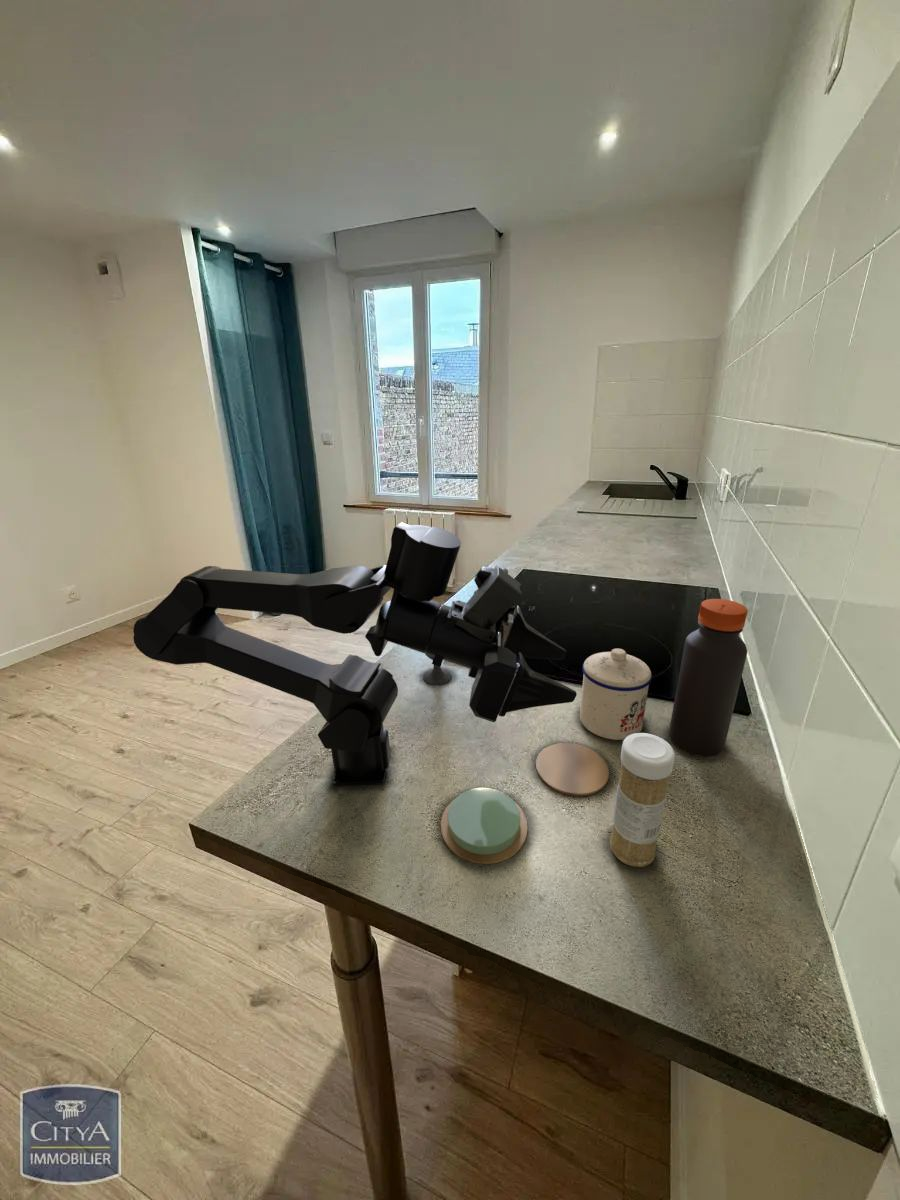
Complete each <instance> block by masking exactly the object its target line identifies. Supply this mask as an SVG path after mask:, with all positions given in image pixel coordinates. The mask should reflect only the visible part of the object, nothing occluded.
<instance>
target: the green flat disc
mask: <svg viewBox="0 0 900 1200" xmlns="http://www.w3.org/2000/svg"><path fill="white" fill-rule="evenodd" d="M452 801H453V802H452ZM452 801H451V802H452V803H451V802H450V803H451V805H450V807H449V810H448V829H449V833H450V835H451V837H452V838H453V840H454V841H455V842H456V843H457V844H458V845H459V846H460V847H462V848H463V849H465V850H467V851H469V852H472V853H475V854H481V855H490V854H496V853H499V852H502V851H504V850H506V849H507V848H509V847H510V846H511V845H512V844H513V843H514V842H515V840H516V839H517V837H518V835H519V831H520V812H519V809H518V807H517V805H516V804H515V803H516V801H515V800H514V799H513V798H512V797H510V796H509V795H508V794H506V793H504V792H503V791H500V790H497V789H495V788H490V787H476V788H475V787H474V788H471V789H467V790H466V791H464V792H461V793H459V794H458V795H457V796H456V797H455V798H454V799H453V800H452Z"/></svg>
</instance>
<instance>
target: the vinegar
mask: <svg viewBox="0 0 900 1200" xmlns="http://www.w3.org/2000/svg"><path fill="white" fill-rule="evenodd" d="M748 610H749V609H748V608H747V607H746V606H745V605H744V604H741V603H739V602H737V601H734V600H730V599H724V598H707V599H705V600H702V601H701V603H700V607H699V613H698V618H697V625H698V626H699V627H698V628H697V629H695V630H694V631H692V632H690V633H689V634H688V635H687V636H686V637H685V640H684V646H683V653H682V658H681V664H680V668H679V674H678V680H677V684H676V691H675V696H674V701H673V706H672V710H671V717H670V722H669V727H668V737H669V739H670V740H671V742H672V743H673V744H674V745H675V747H677V748H679V749H680V750H682V751H683V752H686V753H688V754H690V755H692V756H693V755H694V756H696V757H697V756H698V757H714V756H715V757H716V756H718V755H719V754H721V753H723V751H724V749H725V746H726V742H727V738H728V734H729V731H730V726H731V722H732V717H733V714H734V709H735V705H736V701H737V697H738V693H739V689H740V685H741V681H742V676H743V672H744V669H745V664H746V660H747V656H748V647H747V644H746V643H745V642H744V640H743V639H742V638H741V637H740V634H741V633H742V632H743V630H744V628H745V624H746V620H747V615H748Z"/></svg>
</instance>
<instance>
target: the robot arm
mask: <svg viewBox="0 0 900 1200" xmlns="http://www.w3.org/2000/svg"><path fill="white" fill-rule="evenodd" d="M390 538H391V539H390V549H389V553H388V558H387V561H386V563H385V564H383V565H379V566H377V567H373V568H369V567H366V566H362V565H351V566H342V567H333V568H329V569H325V570H321V571H317V572H313V573H304V574H300V573H286V572H272V571H260V570H245V569H234V568H233V569H231V568H221V567H220V566H216V565H213V566H212V565H206V566H204V567H202V568H199V569H198V570H195V571H193V572H190V573H189V574H187V575H185V576H184V577H182V578H180V580H179V582H178V583H177V584H176V585H175V586H174V588H173V589H172V591H170V593H168V594H167V596H165V598H164V599H162V601H160V602H159V603H158V604H157V605H156V606H155V607H154V608H153V609H152V610H151V611H149V613H148V614H146V615H144V616H142V617H140V618H139V619H137V620H136V621H135V623H134V625H133V630H132V631H133V636H132V639H133V643H134V645H135V647H136V649H137V650H138V651H139V652H140V653H141V654H143V655H144V656H145V657H147V658H149V659H151V660H154V661H157V662H162V663H167V664H172V665H175V666H181V665H195V664H208V665H211V666H214V667H216V668H219V669H221V670H225V671H228V672H229V673H231V674H232V673H233V674H235V675H238V676H240V677H243V678H246V679H249V680H251V681H254V682H256V683H259V684H262V685H264V686H267V687H269V688H272V689H275V690H277V691H279V692H283V693H284V694H288V695H291V696H294V697H296V698H299V699H301V700H304V701H307V702H309V703H311V704H313V705H314V706H315V708H316V709H317V710H318V712H319V713H320V714H321V716H322V717H323V719H325V723H324V725H323V726H322V728H321V729H320V730H319V731H318V733H317V737H318V739H319V740H320V742H321V745H322V746H323V748H324V749H328V750H330V752H331V758H332V764H333V770H334V771H333V774H332V778H331V785H332V786H334V787H336V786H337V787H338V786H340V787H341V786H357V785H360V786H361V785H376V784H377V785H379V784H383V783H384V782H385V778H386V771H387V770H388V769H389V768H390V761H391V747H390V736H389V731H388V730H387V729H384V721H385V719H386V718H387V716H388V714H389V712H390V710H391V708H392V706H393V705H394V703H395V701H396V700H397V698H398V694H399V687H398V684H397V682H396V680H395V679H394V678H393V677H394V675H393V674H392V673H390V671H388V670H386V669H384V668H382V667H381V666H382V664H381V662H374V661H373V662H372V661H369V660H366V659H364V658H362V657H360V656H359V655H355V654H348V655H347V657H346V658H345V659H344V660H343V662H342V663H336V664H335V663H334V664H330V663H326V662H323V661H321V660H319V659H316V658H313V657H311V656H307V655H305V654H302V653H300V652H296V651H293V650H291V649H288V648H286V647H283V646H280V645H278V644H274V643H273V642H270V641H266V640H265V639H261V638H259V637H256V636H253V635H251V634H248V633H246V632H243V631H239V630H237V629H235V628H231V627H229V626H227V625H226V624H225V623H224V621H223V620H222V618H221V617H220V616H219V615H218V613H217V610H218V609H223V610H224V609H225V610H234V611H246V612H256V613H267V614H277V615H289V616H295V617H299V618H301V619H304V620H305V621H306V622H307V623H308V624H310V625H311V626H313V627H314V628H318V629H323V630H327V631H330V632H334V633H338V634H343V635H345V634H352V633H355V632H357V631H358V630H359V629H361V628H362V627H363V626H364V625H365V623H367V622H368V620H369V619H370V618H371V617H372V615H373V614H374V613H375V612H376V611H377V610H378V608H379V607H380V608H379V611H378V615H377V619H376V622H375V624H374V625H371V626H370V627H369V629H368V630H367V631H366V634H365V635H364V638H365V639H366V640H367V641H368V642H369V644H370V648H371V650H372V652H373V655H374V656H376V657H380V656H381V655H382V654H383V651H384V650H385V648H386V646H387V645H388V642H389V643H392V644H395V645H398V646H401V647H404V648H407V649H410V650H413V651H416V652H419V653H422V654H424V655H425V654H428V655H431V656H434V659H433V660H432V662H431V665H433V666H434V665H437V666H440V667H441V668H442V664H443V662H444V661H446V662H449V663H452V664H455V665H457V666H461V667H463V668H467V669H468V677H470V678H473V679H474V681H473V683H472V686H471V691H470V695H469V698H470V699H469V705H468V706H469V708H470V709H471V712H472V713H473V715H474V716H475V717H476V718H479V719H482V720H485V721H488V722H491V723H495V722H496V721H497V720H498V717H503V718H504V717H505V716H506V714H507V713H511V712H516V711H521V710H525V709H531V708H537V707H545V706H552V705H553V706H554V705H559V704H560V705H561V704H569V703H573V702H575V700H576V697H577V694H578V693H577V691H576V690H574V689H573V688H570V687H569V686H567V685H565V684H562V683H561V682H559V681H557V680H554V679H552V678H550V677H548V676H545V675H543V674H541V673H539V672H537V671H534V670H533V669H531V668H530V666H529V664H528V663H527V661H526V659H525V658H529V659H541V660H542V659H543V660H564V659H565V657H566V655H567V650H566V649H565V648H563V647H562V646H560V645H559V644H557V643H556V642H555V641H553V640H551V639H550V638H548V637H547V636H545V635H544V634H542V633H541V632H540V631H538V630H536V629H535V628H533V627H532V626H531V625H529V624H528V623H527V621H526V620H525V617H524V615H523V612H522V610H521V609H522V608H521V607H520V606H519V605H517V603H518V602H519V600H520V599H521V597H522V593H523V592H522V591H521V587H522V583H521V582H519V581H518V580H517V579H515V578H514V577H513V576H511V574H509V570H508V569H507V568H501V567H500V566H498V565H496V566H495V567H489V566H481V568H480V569H479V570H478V571H477V572H476V573H475V575H474V583H475V585H476V587H477V589H475V590H474V591H473V594H472V596H471V597H470V598H469V599H468V601H467V602H465V601H462V600H460V599H456V600H452V602H451V605H446V604H443V603H440V602H437V601H435V600H433V599H434V598H438V597H441V596H443V595H445V594H446V592H447V588H448V585H449V582H450V579H451V576H452V573H453V569H454V567H455V564H456V561H457V558H458V555H459V551H460V548H461V545H462V541H461V539H460V538H459V537H458V536H456V534H454V533H452V532H450V531H448V530H446V529H444V528H441V527H438V526H435V525H434V526H428V525H421V524H420V525H419V524H412V525H410V524H407V523H404V522H399V523H398V524H396V526H395V527H393V529H392V533H391V537H390ZM391 589H393V593H392V595H391V599H390V600H389V601H386V602H385V603H384V602H383V600H384V597H385V595H386V594H387V593H388V592H389V591H390V590H391ZM382 602H383V604H382ZM439 610H440V611H439ZM512 612H513V614H511V613H512ZM427 646H428V647H427ZM426 648H427V650H426ZM425 651H426V653H425Z"/></svg>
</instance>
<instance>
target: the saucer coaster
mask: <svg viewBox="0 0 900 1200" xmlns="http://www.w3.org/2000/svg"><path fill="white" fill-rule="evenodd" d="M452 802H453V800H451V801H450V802H449V803H448V805H447V806H446V807H445V809H444V811H443V813H442V815H441V819H440V833H441V836H442V839H443V841H444V843H445V844H446V846H447V847H448V849H449V850H450V851H451V852H452V853H453V854H455V855H456V856H458V857H459V858H461V859H463V860H464V861H468V862H470V863H474V864H481V865H491V864H497V863H502V862H504V861H506V860H508V859H510V858H512V857H513V856H514V855H516V854H517V853H518V852H519V851H520V850H521V849H522V847H523V846H524V844H525V842H526V839H527V836H528V820H527V817H526V815H525V813H524V811H523V809H522V807H521V806H520V805H519V804H518V803H517V802H515V804H516V805H517V807H518V809H519V812H520V831H519V835H518V837H517V839H516V840H515V842H514V843H513V844H512V845H511V846H510V847H509V848H507V849H506V850H504V851H502V852H499V853H496V854H490V855H481V854H475V853H472V852H469V851H467V850H465V849H463V848H462V847H460V846H459V845H458V844H457V843H456V842H455V841H454V840H453V838H452V837H451V835H450V833H449V829H448V810H449V807H450V805H451V803H452Z"/></svg>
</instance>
